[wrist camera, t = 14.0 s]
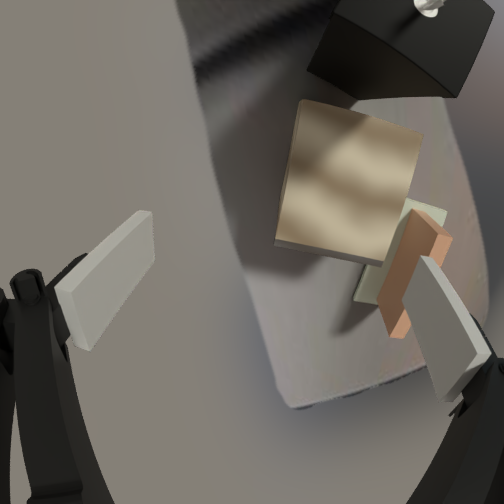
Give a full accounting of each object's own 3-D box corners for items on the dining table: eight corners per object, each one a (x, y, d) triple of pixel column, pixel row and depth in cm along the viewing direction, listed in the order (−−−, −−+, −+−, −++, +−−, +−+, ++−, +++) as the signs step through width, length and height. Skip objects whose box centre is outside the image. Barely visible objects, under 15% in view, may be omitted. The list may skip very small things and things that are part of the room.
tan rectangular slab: (412, 208, 38) (438, 233, 30) (425, 212, 38) (452, 238, 30) (376, 299, 45) (389, 336, 37) (388, 301, 45) (403, 338, 37)
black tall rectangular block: (384, 56, 30) (526, 3, 5) (358, 101, 33) (490, 101, 8) (332, 25, 29) (401, -95, 4) (305, 70, 32) (342, -11, 8)
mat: (390, 192, 38) (391, 194, 37) (445, 210, 38) (447, 212, 37) (353, 297, 47) (353, 300, 46) (404, 306, 46) (405, 309, 46)
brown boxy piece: (298, 102, 34) (303, 98, 24) (386, 125, 34) (423, 134, 23) (278, 207, 41) (273, 245, 31) (359, 225, 41) (381, 267, 30)
